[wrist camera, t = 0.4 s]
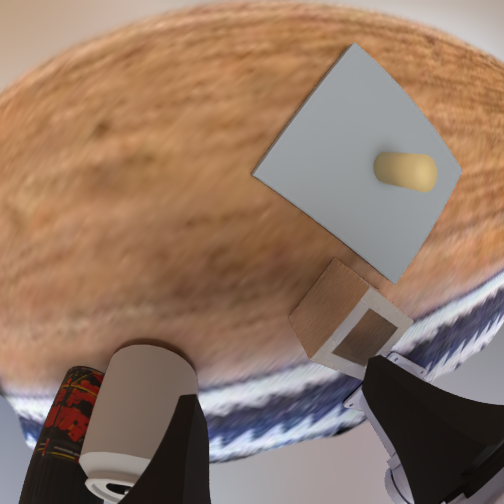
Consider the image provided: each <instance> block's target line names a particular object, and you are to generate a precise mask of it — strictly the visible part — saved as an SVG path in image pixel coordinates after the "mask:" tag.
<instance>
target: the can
mask: <svg viewBox="0 0 504 504" xmlns="http://www.w3.org/2000/svg"><path fill="white" fill-rule="evenodd" d="M187 394H196V395H197V398H198V380H197V376H196V373H195V371H194V370H193V368H192V367H191V366H190V364H189V363H188V362H187V361H185V360H184V359H183V358H181V357H180V356H179V355H178V354H176V353H173V352H171V351H169V350H167V349H164V348H162V347H157V346H152V345H131V346H128V347H125V348H122V349H120V350H119V351H118V352H116V353H115V354H114V355H113V356H112V358H111V360H110V363H109V365H108V368H107V371H106V373H105V376H104V379H103V382H102V385H101V388H100V391H99V394H98V397H97V400H96V403H95V406H94V409H93V412H92V415H91V419H90V422H89V425H88V429H87V432H86V436H85V440H84V443H83V447H82V451H81V455H80V459H79V463H80V465H81V467H82V468H83V470H84V472H85V473H86V475H87V476H88V479H87V480H86V482H85V485H86V486H87V488H88V489H89V490H90V491H91V492H92V493H93V494H95V495H96V496H98V497H100V498H101V499H103V500H106V501H107V502H110V503H112V504H117V503H118V502H119V501H120V500H121V499H122V498H123V497H124V496H125V495H126V494H127V493H128V492H129V490H130V489H131V488H132V487H133V486H134V484H135V483H136V482H137V480H138V479H139V478H140V476H141V475H142V473H143V472H144V470H145V469H146V467H147V466H148V464H149V463H150V461H151V459H152V458H153V456H154V454H155V452H156V450H157V448H158V446H159V445H160V443H161V441H162V439H163V437H164V434H165V432H166V430H167V428H168V426H169V423H170V421H171V418H172V416H173V413H174V411H175V408H176V405H177V402H178V399H179V397H180V396H181V395H187Z"/></svg>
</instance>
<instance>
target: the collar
mask: <svg viewBox="0 0 504 504" xmlns="http://www.w3.org/2000/svg"><path fill="white" fill-rule="evenodd" d="M288 318H289V320H290V322H291V324H292V326H293V328H294V330H295V332H296V334H297V336H298V338H299V340H300V342H301V344H302V346H303V348H304V349H305V351H306V353H307V355H308V357H309V359H310V360H311V361H314V362H316V363H319V364H321V365H324V366H326V367H329V368H331V369H334V370H337V371H339V372H342V373H344V374H347V375H350V376H352V377H355V378H358V379H361V380H363V379H364V376H365V372H366V367H367V363H368V358H371V357H374V356H377V355H382V356H384V357H385V356H386V354H387V353H388V352H389V351H390V350H391V349H392V347H393V346H394V345H395V344H396V343H397V342H398V340H399V339H400V338H401V337H402V335H403V334H404V333H405V332H406V331H407V329H408V328H409V327H410V325H411V324H412V323H413V322H414V321H413V320H412V319H411V318H410V317H409V316H407V315H406V314H405V313H404V312H403V311H402V310H401V309H399V308H398V307H397V306H396V305H395V304H394V303H393V302H391V301H390V300H389V299H388V298H387V297H386V296H384V295H383V294H382V293H381V292H380V291H378V290H377V289H376V288H375V287H373V286H372V285H371V284H369V283H368V282H367V281H366V280H364V279H363V278H362V277H360V276H359V275H358V274H356V273H355V272H354V271H352V270H351V269H350V268H348V267H347V266H346V265H344V264H343V263H342V262H340V261H339V260H338V259H336V258H335V257H334V258H333V260H332V261H331V262H330V264H329V265H328V266H327V268H326V269H325V270H324V272H323V273H322V274H321V276H320V277H319V278H318V280H317V281H316V282H315V284H314V285H313V286H312V288H311V289H310V290H309V291H308V293H307V294H306V295H305V297H304V298H303V299H302V300H301V302H300V303H299V304H298V305H297V307H296V308H295V309H294V310H293V312H292V313H291V314H290V315H289V317H288Z"/></svg>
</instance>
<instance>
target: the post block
mask: <svg viewBox="0 0 504 504" xmlns="http://www.w3.org/2000/svg"><path fill="white" fill-rule="evenodd" d="M462 171H463V170H462V169H461V167H460V165H459V164H458V162H457V161H456V159H455V157H454V156H453V154H452V153H451V151H450V150H449V148H448V147H447V145H446V144H445V142H444V141H443V139H442V138H441V137H440V135H439V134H438V132H437V131H436V130H435V128H434V127H433V125H432V124H431V123H430V122H429V120H428V119H427V118H426V116H425V115H424V114H423V113H422V111H421V110H420V109H419V108H418V106H417V105H416V104H415V103H414V102H413V100H412V99H411V98H410V97H409V96H408V95H407V93H406V92H405V91H404V90H403V89H402V88H401V87H400V86H399V84H398V83H397V82H396V81H395V80H394V79H393V78H392V77H391V76H390V75H389V74H388V73H387V72H386V71H385V70H384V69H383V68H382V67H381V66H380V65H379V64H378V63H377V62H376V61H375V60H374V59H373V58H372V57H371V56H370V55H369V54H367V53H366V52H365V51H364V50H363V49H362V48H361V47H360V46H358V45H357V44H356V43H355V42H354V43H353V44H351V45H350V46H348V47H347V48H346V50H345V51H344V52H343V53H342V54H341V56H340V57H339V58H338V59H337V60H336V62H335V63H334V64H333V65H332V67H331V68H330V69H329V70H328V71H327V73H326V74H325V75H324V76H323V78H322V79H321V80H320V81H319V83H318V84H317V85H316V87H315V88H314V89H313V90H312V92H311V93H310V94H309V95H308V97H307V98H306V99H305V101H304V102H303V103H302V105H301V106H300V107H299V108H298V110H297V111H296V112H295V114H294V115H293V116H292V118H291V119H290V120H289V122H288V123H287V124H286V126H285V127H284V128H283V130H282V131H281V132H280V134H279V135H278V136H277V138H276V139H275V141H274V142H273V143H272V145H271V146H270V147H269V149H268V150H267V152H266V153H265V154H264V156H263V157H262V159H261V160H260V161H259V163H258V164H257V166H256V167H255V168H254V170H253V171H252V173H251V175H252V176H254V177H255V178H257V179H258V180H260V181H261V182H262V183H264V184H265V185H267V186H268V187H270V188H271V189H272V190H274V191H275V192H277V193H278V194H279V195H281V196H282V197H284V198H285V199H286V200H288V201H289V202H290V203H292V204H293V205H295V206H296V207H297V208H299V209H300V210H301V211H303V212H304V213H305V214H307V215H308V216H309V217H311V218H312V219H313V220H315V221H316V222H317V223H319V224H320V225H321V226H323V227H324V228H325V229H326V230H328V231H329V232H330V233H332V234H333V235H334V236H335V237H337V238H338V239H339V240H340V241H342V242H343V243H344V244H346V245H347V246H348V247H349V248H351V249H352V250H353V251H354V252H355V253H357V254H358V255H359V256H360V257H362V258H363V259H364V260H365V261H366V262H368V263H369V264H370V265H371V266H372V267H374V268H375V269H376V270H377V271H378V272H380V273H381V274H382V275H383V276H384V277H385V278H387V279H388V280H389V281H390V282H392V283H393V284H394V285H395V284H396V283H397V281H398V280H399V279H400V277H401V276H402V274H403V273H404V271H405V270H406V268H407V267H408V266H409V264H410V263H411V261H412V260H413V258H414V257H415V255H416V253H417V252H418V250H419V249H420V247H421V246H422V244H423V242H424V241H425V239H426V238H427V236H428V234H429V233H430V231H431V229H432V228H433V226H434V224H435V223H436V221H437V219H438V217H439V216H440V214H441V212H442V210H443V208H444V207H445V205H446V203H447V201H448V199H449V197H450V195H451V193H452V191H453V189H454V187H455V185H456V183H457V181H458V179H459V177H460V175H461V173H462Z"/></svg>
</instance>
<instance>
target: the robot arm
mask: <svg viewBox="0 0 504 504" xmlns="http://www.w3.org/2000/svg"><path fill="white" fill-rule="evenodd" d="M426 374H427V370H426V369H425V368H423V367H421V366H419V365H417V364H415V363H414V362H412V361H410V360H408V359H406V358H405V357H403V356H401V355H399V354H397V353H396V352H394V353H391V354H390V355H389V356H388V358H385V357H384V356H382V355H377V356H374V357H371V358H368V363H367V367H366V372H365V376H364V380H363V384H362V385H361V386H360V387H359V388H358V389H357V390H356V391H355V392H354V393H353V394H352V395H351V396H350V397H349V398H348V399H347V400H346V401H345V402H344V403H343V405H344V407H347V408H351V409H356V410H360V411H364V413H365V415H366V416H367V418H368V420H369V421H370V423H371V425H372V426H373V428H374V430H375V431H376V433H377V434H378V436H379V438H380V440H381V441H382V443H383V445H384V447H385V448H386V450H387V452H388V453H389V455H390V457H391V459H389V460H388V461H387V463H388V465H389V466H390V468H388V469H387V471H386V475H385V487H386V489H387V492H388V494H389V496H390V498H391V499H392V500H393V502H394V503H395V504H504V405H495V404H488V403H482V402H477V401H473V400H470V399H466V398H463V397H459V396H457V395H454V394H451V393H449V392H446V391H444V390H442V389H439V388H437V387H435V386H433V385H431V384H429V383H427V382H426V381H425V380H424V378H423V377H424V376H425V375H426ZM117 504H211V499H210V490H209V438H208V429H207V422H206V419H205V417H204V414H203V411H202V409H201V406H200V403H199V400H198V398H197V395H196V394H187V395H181V396H180V397H179V399H178V402H177V405H176V408H175V411H174V413H173V416H172V418H171V421H170V423H169V426H168V428H167V430H166V432H165V434H164V437H163V439H162V441H161V443H160V445H159V446H158V448H157V450H156V452H155V454H154V456H153V458H152V459H151V461H150V463H149V464H148V466H147V467H146V469H145V470H144V472H143V473H142V475H141V476H140V478H139V479H138V480H137V482H136V483H135V484H134V486H133V487H132V488H131V489H130V490H129V492H128V493H127V494H126V495H125V496H124V497H123V498H122V499H121V500H120V501H119V502H118V503H117Z"/></svg>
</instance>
